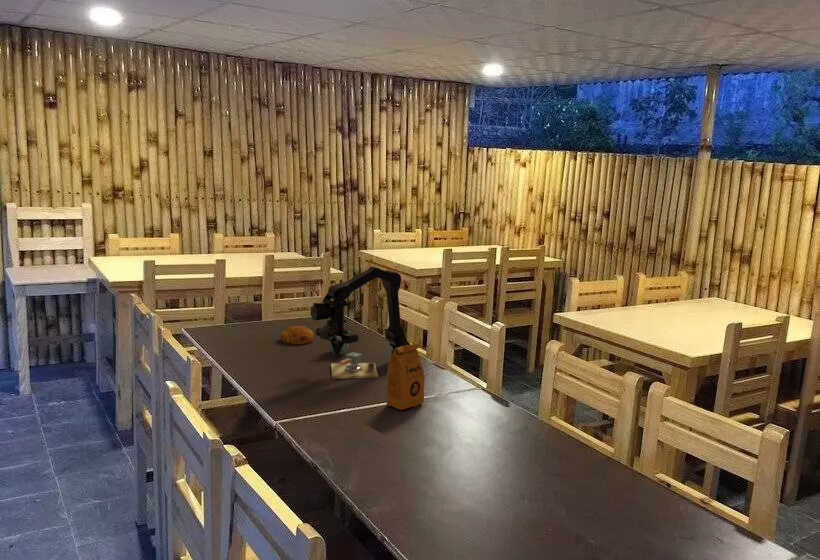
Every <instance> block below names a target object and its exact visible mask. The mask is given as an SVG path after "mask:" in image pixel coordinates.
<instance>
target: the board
mask: <svg viewBox="0 0 820 560" xmlns="http://www.w3.org/2000/svg"><path fill="white" fill-rule="evenodd" d="M373 363H374V371H368V364H369V362H359V363H358V365H360V366H362V367H363V370H362V371H359V372H349V371H346V370H345V367H346V366H348V365H350V363H348V364H346V365H344V366H341V365H340V362H337V363H334V362H333V363H331V364H330V367H331V379H370V378H371V379H376V378H379V374H378V371H377V367H376V363H375V362H373Z"/></svg>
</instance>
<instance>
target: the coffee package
mask: <svg viewBox="0 0 820 560" xmlns="http://www.w3.org/2000/svg"><path fill="white" fill-rule="evenodd" d="M410 344H411V343H410ZM419 347H420V346H419V343H418V342H417V343H412V344H411V345H406V346H401V347H398V348H395V349H394V352H393V354H392V356H391V355H390V358H389V361H388V365H387V374H386V375H387V377H386V405H387V406H388V407H393V408H395V410H396V409H397V410H400V411H403V410H406V409H409V408H414V407H418V406H420V405H423V403H424V402H425V370H424V367H423V363H422V361H421V359H420V355H419V352H418V349H419Z"/></svg>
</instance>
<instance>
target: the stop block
mask: <svg viewBox="0 0 820 560" xmlns="http://www.w3.org/2000/svg"><path fill="white" fill-rule="evenodd" d="M368 363H369V364H368V371H374V363H375V362H370V361H369V362H368Z"/></svg>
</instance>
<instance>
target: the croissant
mask: <svg viewBox="0 0 820 560" xmlns="http://www.w3.org/2000/svg"><path fill="white" fill-rule="evenodd" d="M280 339H281V341H282V342H283V343H287V344H290V343H291V344H290V345H306V344H309V343H312V342H314V332H313V331H312V330H311V329H310V328H309V327H307V326H305V325H293V326H287V328H285V329H283V331H282V332H281V334H280ZM305 343H306V344H305Z"/></svg>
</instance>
